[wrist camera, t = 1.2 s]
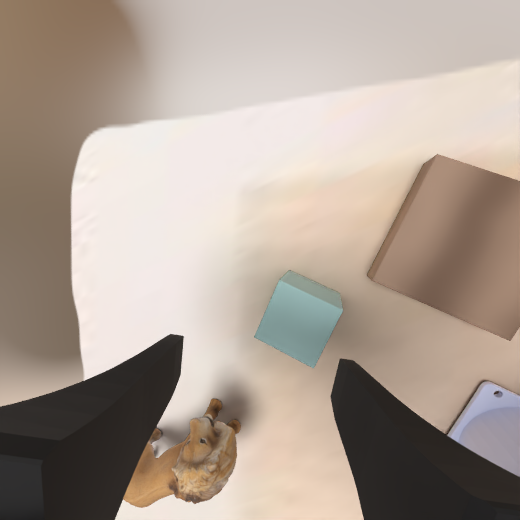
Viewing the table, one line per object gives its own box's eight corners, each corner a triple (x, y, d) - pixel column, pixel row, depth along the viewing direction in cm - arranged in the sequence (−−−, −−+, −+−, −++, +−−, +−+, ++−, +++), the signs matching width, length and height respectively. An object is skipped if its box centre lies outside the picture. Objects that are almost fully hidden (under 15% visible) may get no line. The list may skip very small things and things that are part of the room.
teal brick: (339, 292, 21) (343, 310, 17) (316, 339, 22) (313, 368, 17) (289, 270, 22) (279, 280, 17) (269, 315, 23) (254, 337, 18)
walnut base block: (560, 210, 17) (598, 206, 15) (486, 327, 19) (510, 340, 16) (423, 164, 19) (437, 154, 16) (366, 274, 21) (372, 280, 18)
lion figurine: (235, 365, 24) (184, 438, 16) (271, 411, 24) (240, 513, 15) (139, 437, 28) (55, 529, 19) (169, 479, 28) (96, 591, 19)
